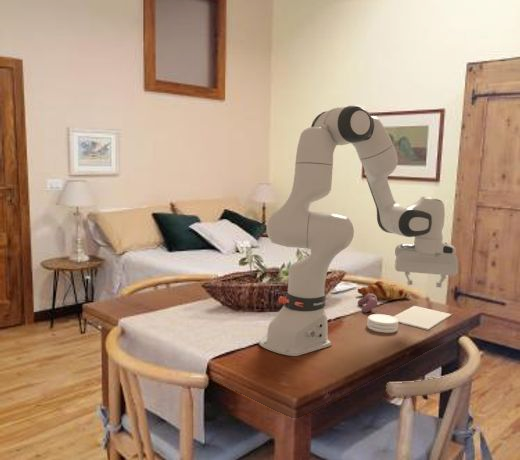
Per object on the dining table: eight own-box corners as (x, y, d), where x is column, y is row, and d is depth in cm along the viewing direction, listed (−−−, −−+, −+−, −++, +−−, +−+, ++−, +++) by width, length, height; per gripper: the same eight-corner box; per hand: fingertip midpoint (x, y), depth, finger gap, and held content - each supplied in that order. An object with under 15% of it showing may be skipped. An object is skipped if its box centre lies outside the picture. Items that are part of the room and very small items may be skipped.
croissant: (407, 305, 210) (406, 285, 212) (414, 300, 200) (413, 280, 203) (355, 301, 210) (355, 282, 212) (360, 296, 200) (360, 276, 203)
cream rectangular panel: (428, 330, 169) (428, 328, 169) (388, 320, 178) (388, 318, 178) (451, 315, 186) (451, 314, 186) (414, 307, 195) (414, 305, 195)
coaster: (398, 325, 173) (399, 315, 172) (397, 335, 164) (397, 324, 163) (368, 321, 176) (369, 312, 175) (365, 331, 167) (366, 320, 166)
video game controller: (371, 317, 185) (381, 301, 184) (360, 311, 185) (370, 295, 184) (366, 309, 195) (375, 293, 194) (356, 303, 195) (365, 287, 194)
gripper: (396, 245, 170) (393, 285, 172) (461, 249, 167) (457, 290, 169) (394, 242, 176) (391, 281, 178) (457, 246, 173) (453, 286, 175)
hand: (424, 286), depth 173 cm, fingers open, 8 cm apart
